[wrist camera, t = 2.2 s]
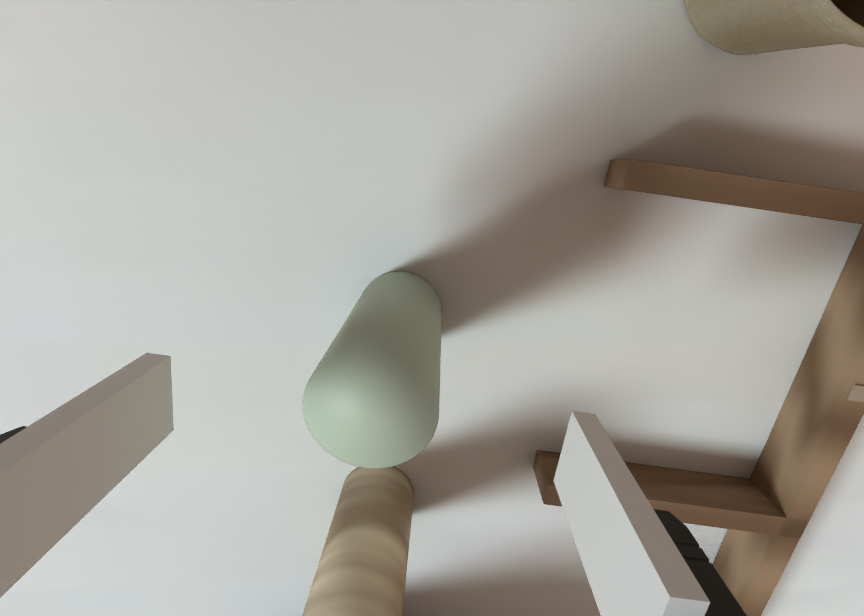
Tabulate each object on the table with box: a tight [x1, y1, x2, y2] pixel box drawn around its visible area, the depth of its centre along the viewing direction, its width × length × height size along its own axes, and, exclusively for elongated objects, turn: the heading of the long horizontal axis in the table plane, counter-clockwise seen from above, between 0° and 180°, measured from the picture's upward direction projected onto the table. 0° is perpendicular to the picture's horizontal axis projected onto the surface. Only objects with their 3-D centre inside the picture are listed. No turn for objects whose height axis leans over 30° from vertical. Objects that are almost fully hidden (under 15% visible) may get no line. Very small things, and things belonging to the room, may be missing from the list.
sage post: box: [303, 271, 442, 468], centre depth 19 cm, size 4×4×10 cm
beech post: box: [302, 466, 414, 616], centre depth 23 cm, size 4×4×10 cm
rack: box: [533, 160, 864, 616], centre depth 25 cm, size 34×14×3 cm, turn 172°
